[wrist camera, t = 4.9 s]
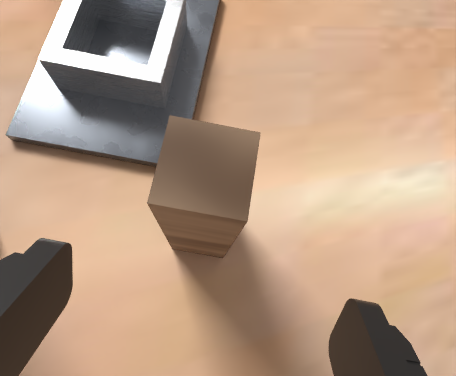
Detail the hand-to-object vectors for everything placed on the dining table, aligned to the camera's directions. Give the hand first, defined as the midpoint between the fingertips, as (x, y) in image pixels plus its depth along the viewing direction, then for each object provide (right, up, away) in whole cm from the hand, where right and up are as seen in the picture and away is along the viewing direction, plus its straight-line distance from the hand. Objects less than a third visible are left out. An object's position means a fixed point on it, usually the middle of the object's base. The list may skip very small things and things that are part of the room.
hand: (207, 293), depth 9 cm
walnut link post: (-2, -1, +20) cm, 20 cm away
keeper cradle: (-10, +16, +25) cm, 31 cm away
